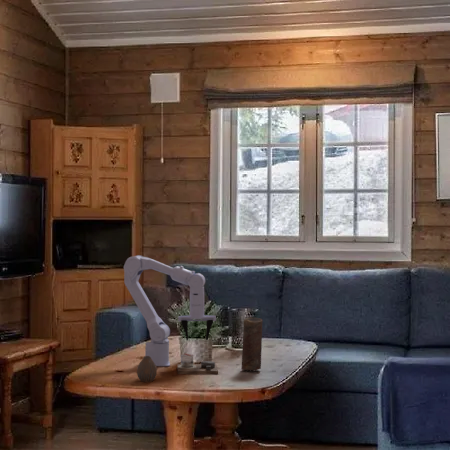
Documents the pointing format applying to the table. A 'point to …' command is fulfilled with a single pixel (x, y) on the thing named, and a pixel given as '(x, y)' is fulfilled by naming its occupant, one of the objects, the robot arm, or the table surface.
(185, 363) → the knob
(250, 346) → the candle
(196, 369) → the base board
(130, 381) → the table surface
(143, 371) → the vase
